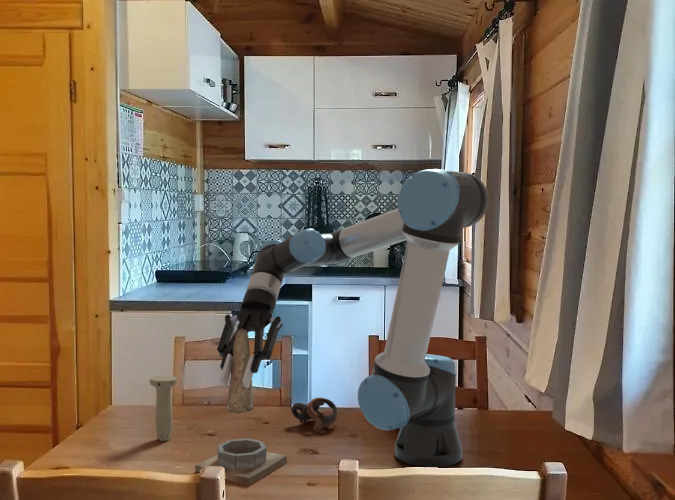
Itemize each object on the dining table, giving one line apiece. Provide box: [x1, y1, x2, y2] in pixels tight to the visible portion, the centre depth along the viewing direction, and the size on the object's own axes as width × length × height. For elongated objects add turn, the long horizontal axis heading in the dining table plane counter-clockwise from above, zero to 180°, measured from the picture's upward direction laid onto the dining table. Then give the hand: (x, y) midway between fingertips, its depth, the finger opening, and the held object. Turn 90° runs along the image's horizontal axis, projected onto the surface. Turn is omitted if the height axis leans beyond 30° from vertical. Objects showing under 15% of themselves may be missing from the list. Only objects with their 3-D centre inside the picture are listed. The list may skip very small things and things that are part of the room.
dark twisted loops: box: [290, 397, 338, 432], centre depth 169 cm, size 12×10×8 cm
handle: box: [149, 375, 178, 442], centre depth 159 cm, size 5×6×15 cm
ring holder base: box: [194, 437, 288, 486], centre depth 142 cm, size 14×14×4 cm
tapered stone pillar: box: [226, 329, 254, 414], centre depth 141 cm, size 6×18×6 cm
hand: (234, 384), depth 138 cm, fingers closed on tapered stone pillar, 4 cm apart
